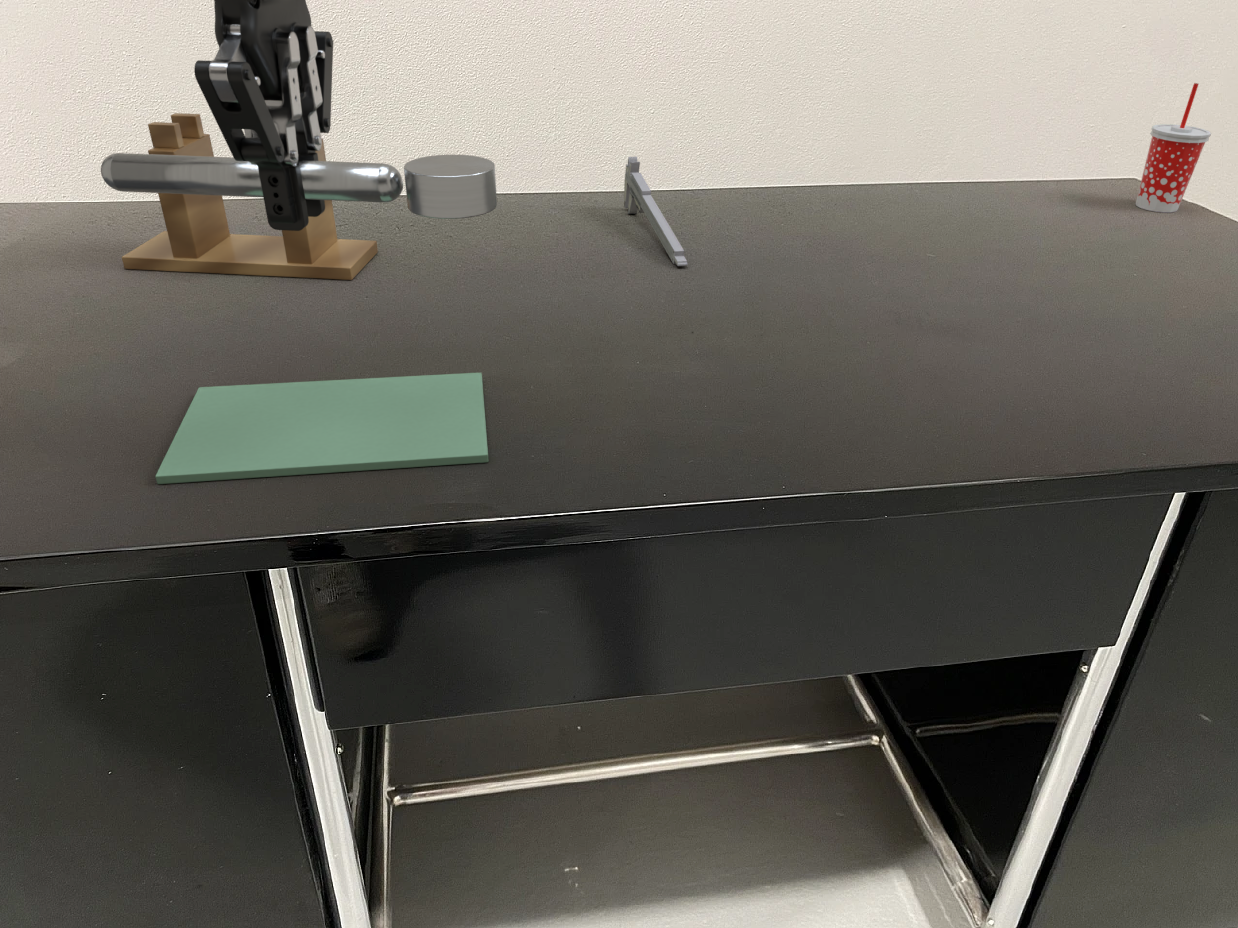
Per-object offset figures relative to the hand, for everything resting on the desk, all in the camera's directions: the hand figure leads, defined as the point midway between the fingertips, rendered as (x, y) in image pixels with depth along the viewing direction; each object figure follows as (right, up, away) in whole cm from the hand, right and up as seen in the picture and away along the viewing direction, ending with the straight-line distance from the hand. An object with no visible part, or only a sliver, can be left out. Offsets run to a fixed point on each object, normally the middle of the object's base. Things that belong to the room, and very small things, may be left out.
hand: (298, 220), depth 56 cm
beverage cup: (+84, +16, +56) cm, 103 cm away
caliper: (+23, +9, +43) cm, 50 cm away
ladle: (0, +1, -1) cm, 1 cm away
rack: (-16, +5, +34) cm, 38 cm away
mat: (0, -12, +7) cm, 14 cm away
